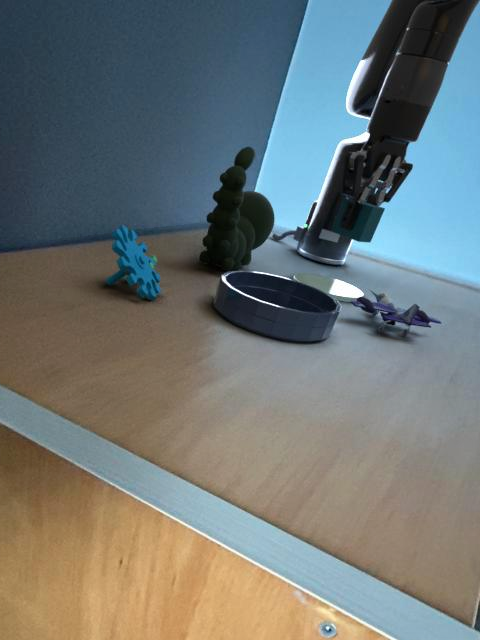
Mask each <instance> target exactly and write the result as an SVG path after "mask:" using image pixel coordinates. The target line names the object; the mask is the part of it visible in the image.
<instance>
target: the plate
mask: <svg viewBox="0 0 480 640" xmlns="http://www.w3.org/2000/svg"><path fill="white" fill-rule="evenodd" d="M292 280H295V281H298V282H301V283H304V284H306V285H309V286H312V287H314V288H316V289H319V290H321V291H323V292H325V293H327V294H329V295H330V296H332V297H333V298H334V299H336V300H337V301H338V302H343V303H351V302H352V301H357V298H358V297H360V296H362V297H364V296H365V294H364V292H363V291H362V290H360V289H359V288H357V286H354V285H352V284H350V283H347V282H345V281H342V280H339V279H336V278H333V277H330V276H326V275H320V274H316V273H308V272H299V273H295V274H294V275H293V277H292Z"/></svg>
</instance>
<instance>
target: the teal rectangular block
mask: <svg viewBox="0 0 480 640" xmlns="http://www.w3.org/2000/svg"><path fill="white" fill-rule="evenodd" d="M347 204H348V200H347V198H343V200H342V203H341V205H340V208H339V210H338V213H337V216H336V218H335V221H334V223H333V226H332V229H331V232H334V233H337V234H339V235H342V236H345V237H347V238H350V239H353V241H356V242H358V243H371V242H372V240H373V238H374V235H375V233H376V231H377V228H378V226H379V224H380V222H381V219H382V217H383V214H384V213H385V211H386V210H385V209H386V208H385V207H382V206H376V205H373V204H370V203H366V202H363V203H362V204H361V205H363V206H362V208H361V211H360V213H359V216H358V218H357V221H356V223H355V225H354V228H353V229H352V230H347V229H344V228H341V227H340V224H341V219H342V217H343V214H344V211H345V209H346V206H347Z"/></svg>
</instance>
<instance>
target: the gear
mask: <svg viewBox="0 0 480 640" xmlns="http://www.w3.org/2000/svg"><path fill="white" fill-rule="evenodd" d="M111 237H112V239H113V240H114V241H113V242H112V243H111V249H112V251H113V252H114V253H115V254H117V255H118V256H119V257H118V258H117V259H116V265H117V267H118V269H119V270H117V271H116V272H115V273H113V274H112V275H110V276H109V277H107V278H106V279H105V282H106V284H107V285H108V286H109V287H111V286H113V285H114V284H116V283H118V282H119V281H120V280H122V279H123V278H125V281H126V282H127V284H128V285H129V287H132V286H134V285H135V284H138V287H137V288H136V293H137V294H138V295H139V297H141V298H142V299H143V298H144V297H146V299H148V300H149V301H152V300H155V299H156V298H157V295H158V294H159V293H161V292H162V288H161V287H160V285H159V283H160V282H161V275H160V274H159V273H158V272H156V271H155V270H154V269H155V267H157V264H156V263H158V258H157V256H156V255H155V254H153V255H151V256H148V255H146V254H145V253H146V252H148V251H149V249H148V246H147V245H146V243H145V241H141V242H140V243H138V244H137V241H136V240H138V235H137V233H136V232H135V230H134V229H131V230H129V229H128V228H127V226H125V225H124V224H121V225H120V226H119V227H117V229H115V230H114V232H111Z"/></svg>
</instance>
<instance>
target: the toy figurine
mask: <svg viewBox="0 0 480 640" xmlns="http://www.w3.org/2000/svg"><path fill="white" fill-rule="evenodd" d="M255 159H256V150H255V149H254V148H253V147H251V146H246V147H242V148H241V149H240V150H239V151H238V153H236V155H235V158H234V161H233V165H232V166H230V167H228V168H227V169H226V170H225V172H222V173H221V174H220V175H219V182H220V183H221V186H220V188H219V189H218V190H217V191H214V192H213V194H212V200H213V201H214V202H215V203H216V206H215V207H214V209H213V210H212V211H211V212H210V211H209V213H208V214H207V215H206V222H207V223H208V224H210V225H209V227H208V229H207V231H206V235H205V236H204V237H203V238H202V245H203V247H205V250H202V251H200V254H198V255H199V256H198V259H199V262H201V263H202V264H204V265H212V264H214V265H216V266H218V267H219V268H221V269H222V270H223V271H229V272H230V271H241V270H242V267H246V266H248V265H249V264H250V263H251V261H252V252H253V251H255V250H256V249H257V248H260V247H261V246H262V245H263V244H264V243H265V242H266V241H267V240H268V239H269V237H270V235H271V233H272V231H273V229H274V226H275V211H274V208H273V205H272V203H271V202H270V199H268V198H267V197H266V196H265V195H264V194H262V193H261V192H258V191H253V190H245V191H244V190H243V189H244V187H245V186H246V184H247V178H248V177H247V172H246V171H247V170H249V168H250V167H251V166H252V165H253V162H254V160H255Z"/></svg>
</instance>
